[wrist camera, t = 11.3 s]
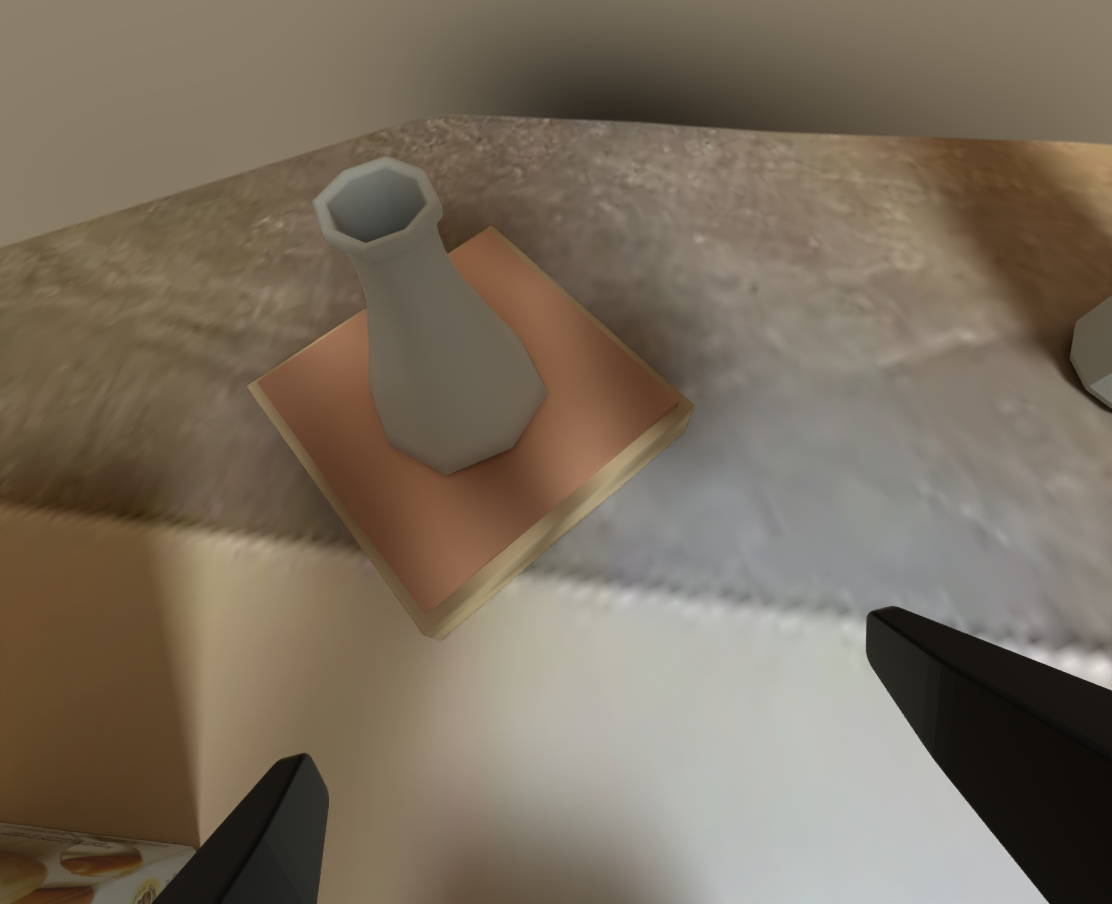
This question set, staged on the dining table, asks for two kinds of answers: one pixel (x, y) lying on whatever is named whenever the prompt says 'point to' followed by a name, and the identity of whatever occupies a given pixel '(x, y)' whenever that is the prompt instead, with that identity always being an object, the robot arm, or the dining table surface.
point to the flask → (426, 323)
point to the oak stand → (494, 483)
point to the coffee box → (83, 867)
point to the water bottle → (1095, 351)
